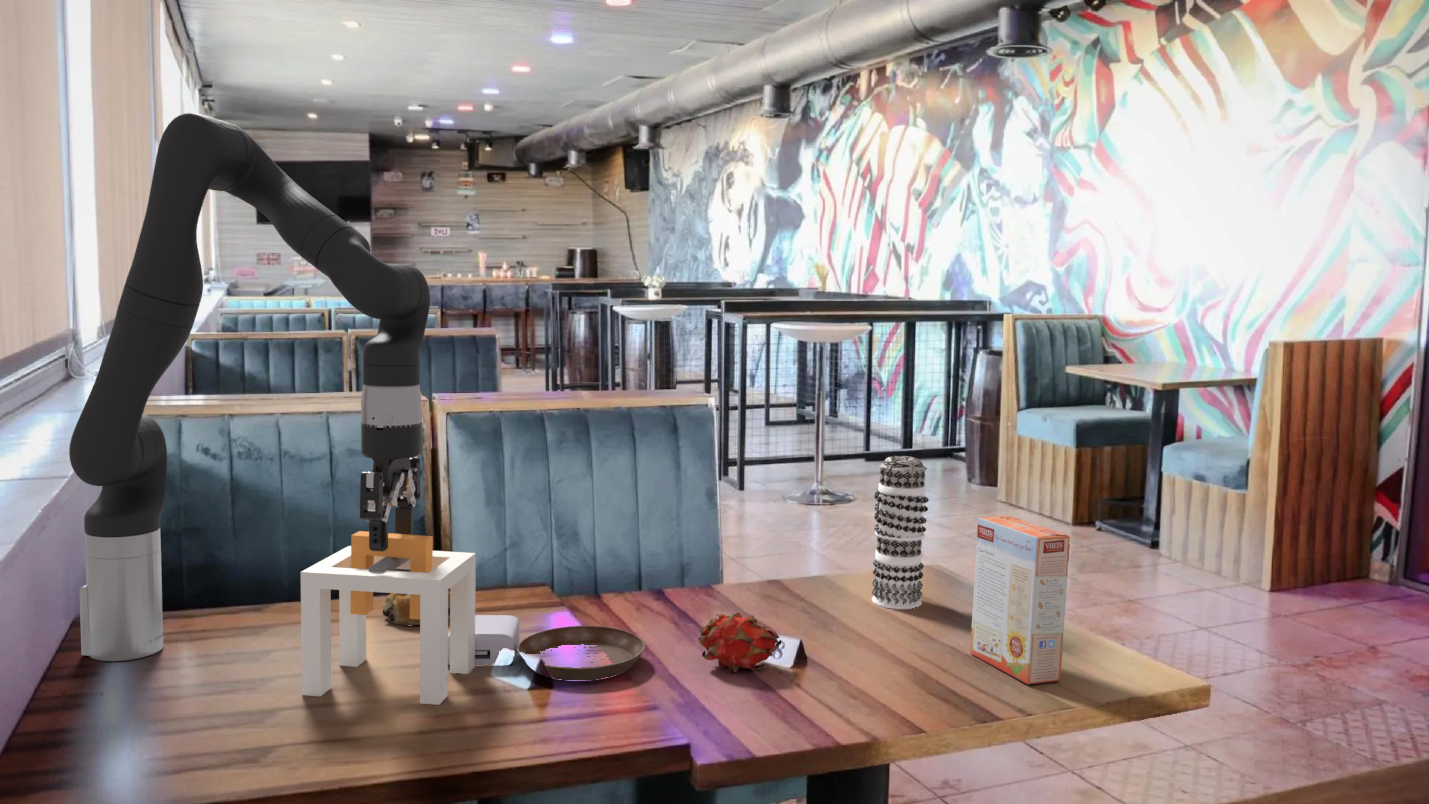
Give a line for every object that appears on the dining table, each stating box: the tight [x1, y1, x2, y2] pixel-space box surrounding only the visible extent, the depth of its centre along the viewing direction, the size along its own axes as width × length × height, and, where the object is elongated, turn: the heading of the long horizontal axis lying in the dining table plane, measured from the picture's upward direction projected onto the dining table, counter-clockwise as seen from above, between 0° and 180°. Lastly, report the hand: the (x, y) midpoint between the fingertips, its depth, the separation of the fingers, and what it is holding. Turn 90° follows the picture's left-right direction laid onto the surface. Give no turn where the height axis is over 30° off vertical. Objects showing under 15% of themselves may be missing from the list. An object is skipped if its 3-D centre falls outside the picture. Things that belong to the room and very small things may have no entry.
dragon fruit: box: [698, 612, 782, 673], centre depth 156 cm, size 8×8×12 cm
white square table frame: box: [300, 545, 477, 706], centre depth 146 cm, size 18×14×17 cm
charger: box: [448, 614, 520, 666], centre depth 161 cm, size 5×9×15 cm
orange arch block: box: [350, 530, 434, 619], centre depth 145 cm, size 10×2×10 cm, turn 84°
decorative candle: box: [871, 455, 929, 610], centre depth 189 cm, size 9×9×25 cm
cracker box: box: [969, 515, 1071, 685], centre depth 158 cm, size 14×6×21 cm, turn 21°
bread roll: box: [381, 591, 450, 626], centre depth 174 cm, size 10×10×8 cm
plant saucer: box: [516, 625, 646, 680], centre depth 155 cm, size 18×18×3 cm
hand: (391, 542), depth 145 cm, fingers open, 8 cm apart
